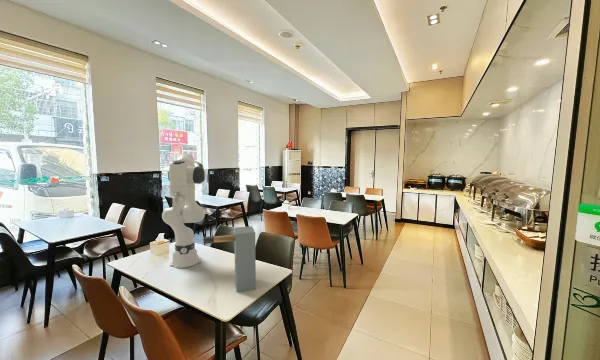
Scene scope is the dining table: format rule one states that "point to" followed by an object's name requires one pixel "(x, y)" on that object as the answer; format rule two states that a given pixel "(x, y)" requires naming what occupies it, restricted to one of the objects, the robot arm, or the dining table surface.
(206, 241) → the lever
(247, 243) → the cabinet
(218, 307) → the dining table surface
